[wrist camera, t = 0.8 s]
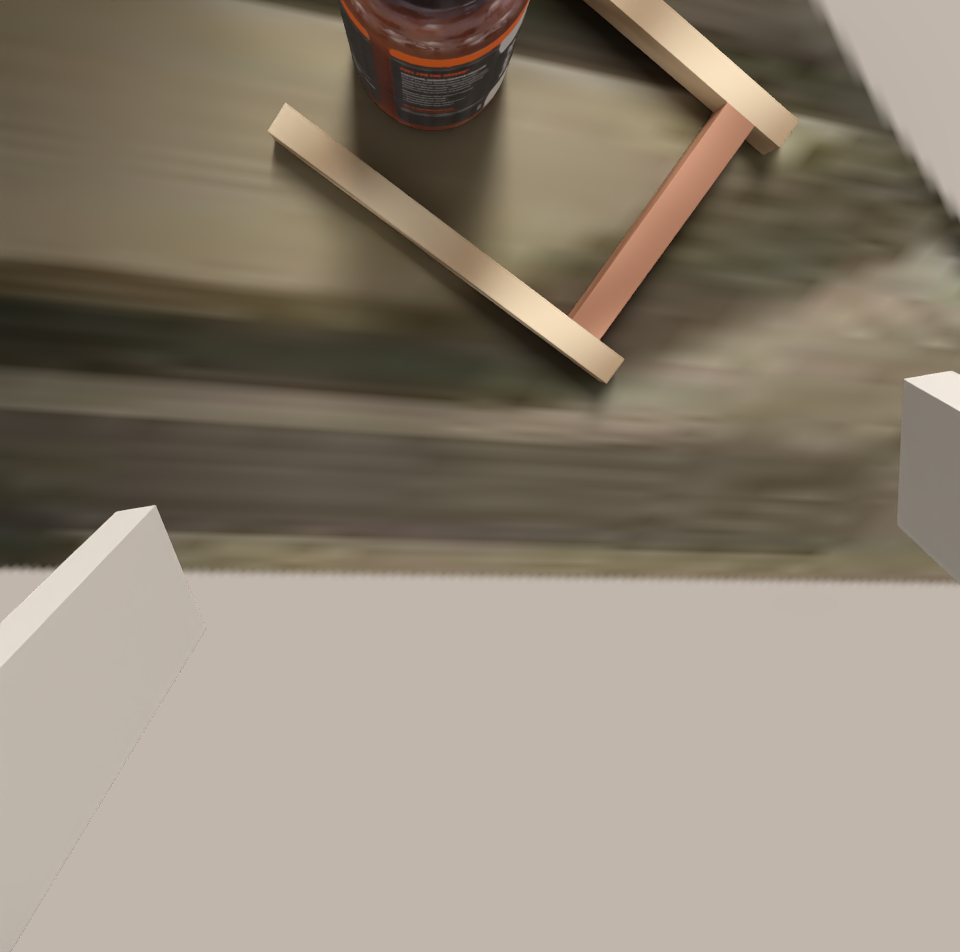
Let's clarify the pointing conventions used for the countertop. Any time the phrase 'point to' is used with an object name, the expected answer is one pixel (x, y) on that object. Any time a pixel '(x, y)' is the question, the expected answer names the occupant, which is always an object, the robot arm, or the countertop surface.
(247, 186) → the countertop surface
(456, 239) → the guide channel
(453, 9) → the supplement bottle
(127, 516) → the robot arm
